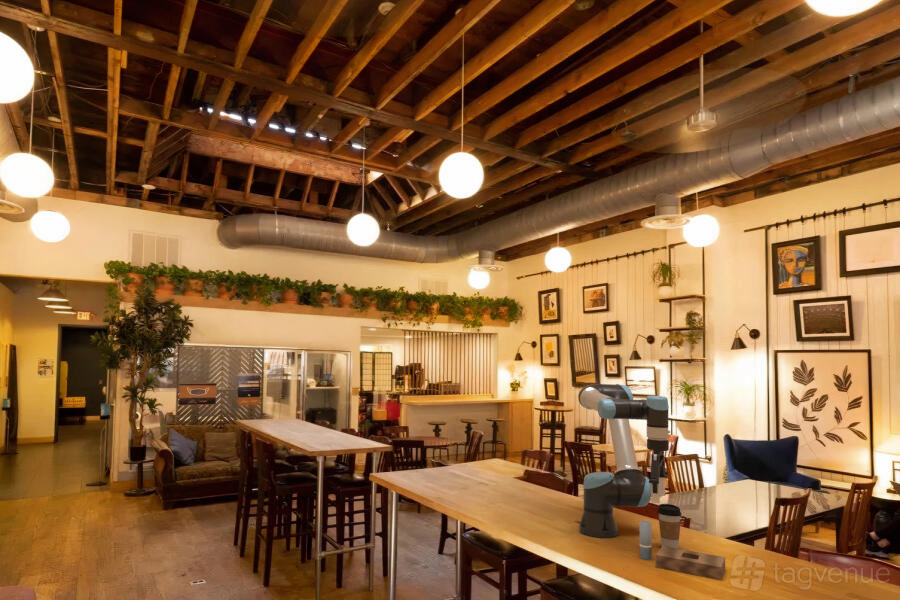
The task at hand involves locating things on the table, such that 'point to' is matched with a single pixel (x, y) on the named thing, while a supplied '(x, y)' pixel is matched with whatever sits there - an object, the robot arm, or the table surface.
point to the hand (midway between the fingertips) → (658, 499)
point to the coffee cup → (669, 525)
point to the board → (691, 562)
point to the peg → (645, 540)
